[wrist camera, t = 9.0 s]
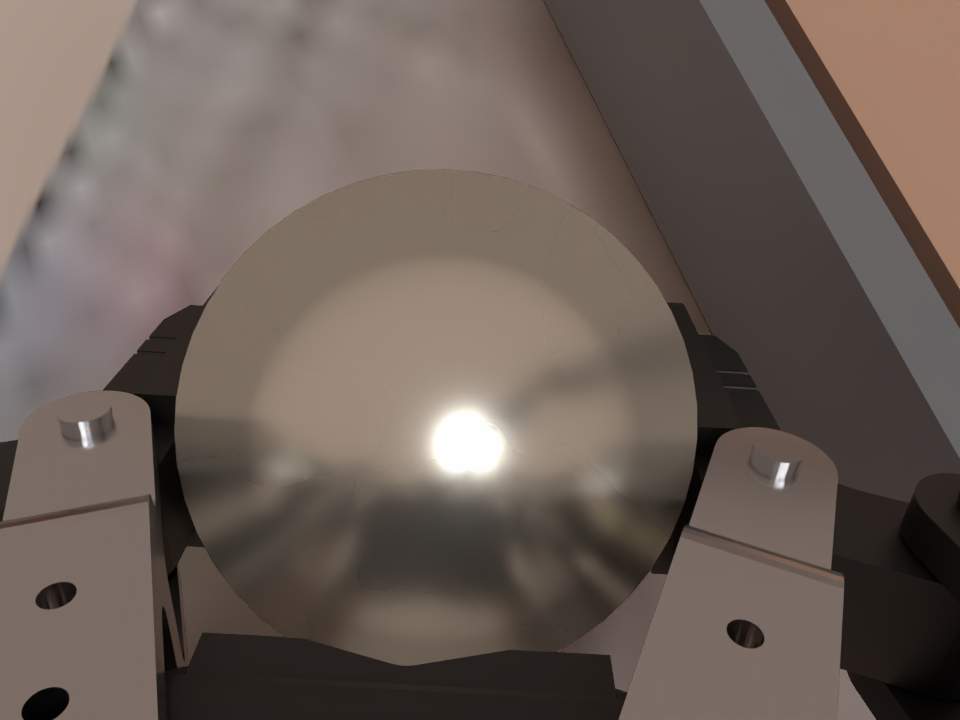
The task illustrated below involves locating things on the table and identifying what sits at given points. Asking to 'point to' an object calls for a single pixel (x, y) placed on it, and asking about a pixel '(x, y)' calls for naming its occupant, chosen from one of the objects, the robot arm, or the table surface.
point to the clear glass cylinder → (436, 420)
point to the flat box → (894, 109)
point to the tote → (778, 230)
